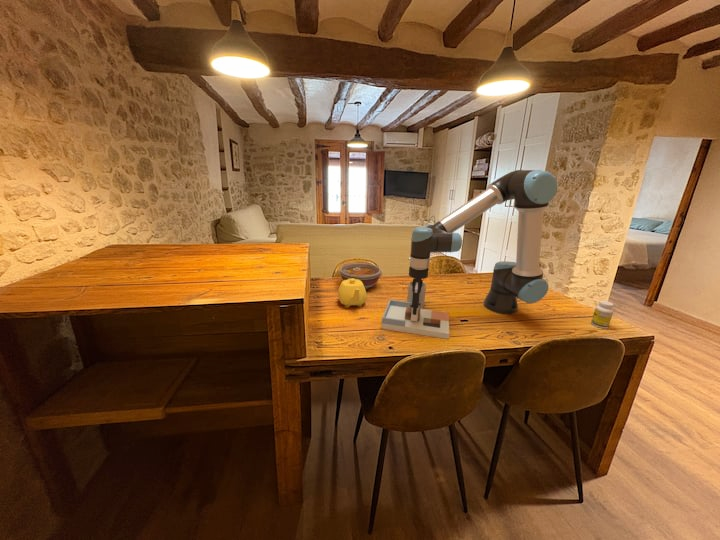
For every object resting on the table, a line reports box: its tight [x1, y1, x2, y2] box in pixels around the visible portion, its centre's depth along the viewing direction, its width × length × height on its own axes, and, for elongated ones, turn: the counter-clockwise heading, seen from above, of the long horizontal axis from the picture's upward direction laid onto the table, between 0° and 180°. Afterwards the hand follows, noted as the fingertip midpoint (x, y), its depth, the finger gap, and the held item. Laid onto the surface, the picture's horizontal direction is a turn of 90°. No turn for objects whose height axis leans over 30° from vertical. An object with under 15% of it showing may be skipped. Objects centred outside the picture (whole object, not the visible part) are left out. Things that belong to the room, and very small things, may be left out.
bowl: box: [339, 262, 382, 290], centre depth 168 cm, size 23×23×10 cm
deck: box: [381, 299, 450, 340], centre depth 129 cm, size 27×19×5 cm
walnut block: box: [405, 306, 422, 321], centre depth 129 cm, size 6×6×4 cm
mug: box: [406, 281, 427, 309], centre depth 147 cm, size 12×8×11 cm
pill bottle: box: [590, 300, 615, 329], centre depth 131 cm, size 6×6×11 cm
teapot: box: [337, 278, 368, 309], centre depth 144 cm, size 14×20×13 cm
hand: (413, 320), depth 125 cm, fingers closed
